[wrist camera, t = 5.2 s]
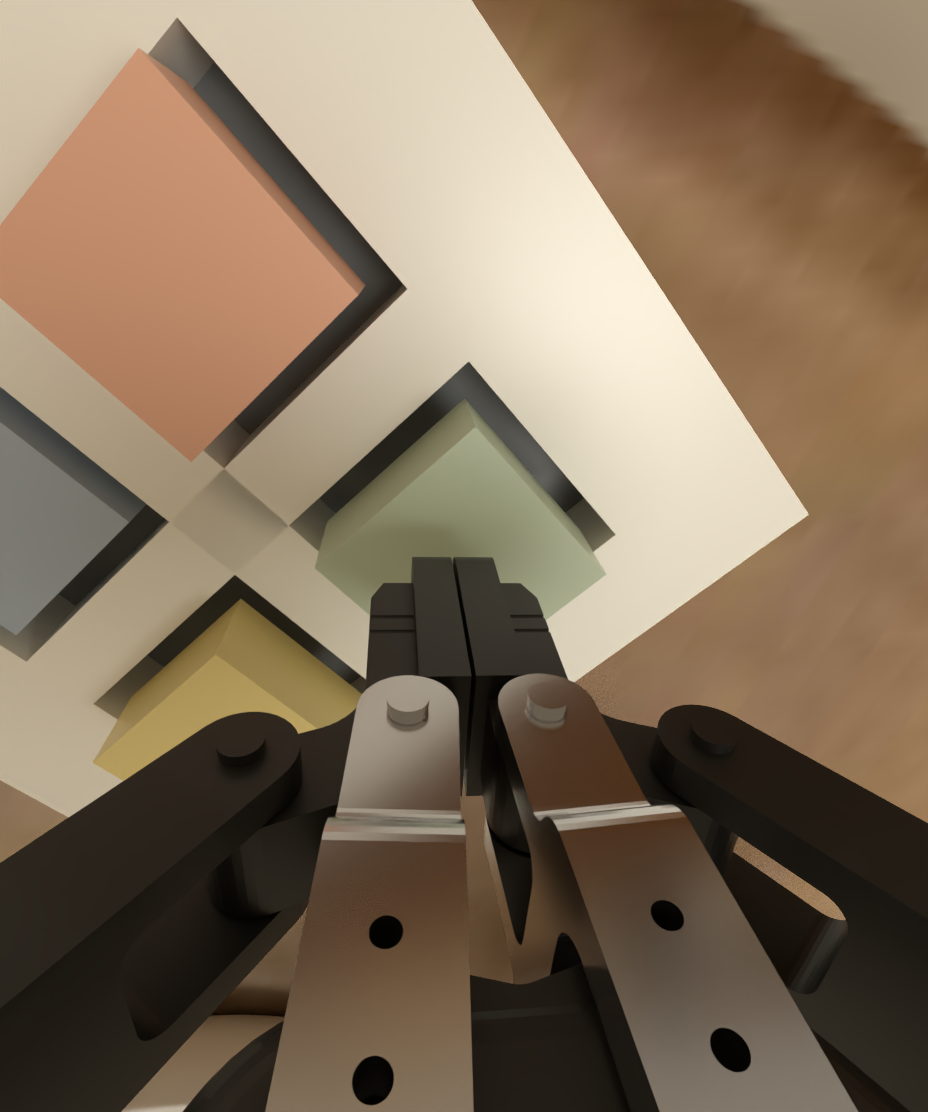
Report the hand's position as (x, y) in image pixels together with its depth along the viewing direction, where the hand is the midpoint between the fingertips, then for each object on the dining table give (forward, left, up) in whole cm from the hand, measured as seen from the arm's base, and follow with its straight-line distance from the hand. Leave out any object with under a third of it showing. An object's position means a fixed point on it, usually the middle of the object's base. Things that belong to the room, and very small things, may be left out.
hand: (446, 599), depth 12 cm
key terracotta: (+7, 0, -4) cm, 8 cm away
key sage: (0, 0, -4) cm, 4 cm away
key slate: (+7, +7, -6) cm, 12 cm away
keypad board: (+3, +4, -8) cm, 9 cm away
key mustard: (0, +7, -4) cm, 8 cm away
